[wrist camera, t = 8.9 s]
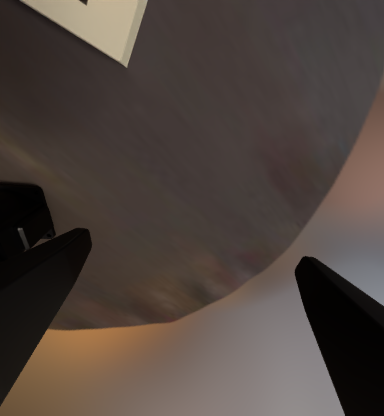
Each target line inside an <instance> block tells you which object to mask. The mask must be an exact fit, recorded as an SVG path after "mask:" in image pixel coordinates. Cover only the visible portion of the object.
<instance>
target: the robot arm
mask: <svg viewBox="0 0 384 416" xmlns="http://www.w3.org/2000/svg"><path fill="white" fill-rule="evenodd" d="M35 190H36V191H37V192H38V193H37V192H36V191H35ZM53 226H54V225H53V222H52V218H51V215H50V211H49V208H48V206H47V203H46V200H45V196H44V193H43V190H42V189H41V188H40V187H37V186H23V185H9V184H0V406H1V404H2V403H3V401H4V399H5V398H6V396H7V394H8V392H9V391H10V390H11V388H12V386H13V385H14V383H15V381H16V380H17V378H18V376H19V375H20V373H21V372H22V370H23V368H24V366H25V365H26V363H27V362H28V360H29V358H30V357H31V355H32V353H33V352H34V350H35V348H36V347H37V345H38V344H39V342H40V340H41V339H42V337H43V335H44V334H45V332H46V330H47V329H48V327H49V325H50V324H51V322H52V320H53V319H54V317H55V316H56V314H57V312H58V311H59V309H60V307H61V306H62V304H63V302H64V301H65V299H66V297H67V296H68V294H69V293H70V291H71V289H72V287H73V286H74V284H75V282H76V280H77V278H78V276H79V274H80V272H81V270H82V268H83V265H84V263H85V261H86V259H87V257H88V255H89V253H90V251H91V248H92V242H91V237H90V232H89V230H88V229H85V228H75V229H73V230H71V231H69V232H66V233H64V234H62V235H60V236H58V237H55V238H53V237H54V236H55V235H56V233H55V230H54V227H53ZM52 238H53V239H52ZM40 239H51V240H49V241H47V242H45V243H42V244H40V245H38V246H36V247H34V248H32V247H33V246H34V245H35V244H36V243H37V242H38V241H39V240H40ZM25 250H27V251H25ZM24 251H25V252H24ZM295 277H296V281H297V284H298V288H299V292H300V295H301V299H302V302H303V306H304V309H305V312H306V314H307V318H308V320H309V322H310V325H311V328H312V331H313V333H314V336H315V338H316V341H317V344H318V346H319V349H320V351H321V354H322V357H323V359H324V362H325V364H326V367H327V370H328V372H329V375H330V377H331V380H332V383H333V385H334V388H335V390H336V393H337V396H338V398H339V401H340V403H341V406H342V409H343V411H344V414H345V416H384V306H383V305H381V304H380V303H378V302H377V301H376V300H374V299H373V298H371V297H370V296H368V295H367V294H366V293H364V292H363V291H361V290H360V289H359V288H357V287H356V286H354V285H353V284H351V283H350V282H349V281H347V280H346V279H344V278H343V277H341V276H340V275H339V274H337V273H336V272H334V271H333V270H332V269H330V268H329V267H327V266H326V265H324V264H323V263H322V262H320V261H319V260H318V259H316V258H314V257H308V256H305V257H303V258H302V259H301V260H300V262H299V264H298V265H297V267H296V269H295Z"/></svg>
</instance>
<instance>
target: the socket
mask: <svg viewBox="0 0 384 416" xmlns="http://www.w3.org/2000/svg"><path fill="white" fill-rule="evenodd" d="M19 1H21V2H22V3H24V4H26V5H27V6H29V7H30V8H32V9H34V10H35V11H37V12H38V13H40V14H42V15H43V16H45V17H46V18H48V19H50V20H51V21H53V22H54V23H56V24H58V25H59V26H61V27H62V28H64V29H66V30H67V31H69V32H70V33H72V34H74V35H75V36H77V37H78V38H80V39H82V40H83V41H85V42H86V43H88V44H90V45H91V46H93V47H94V48H96V49H98V50H99V51H101V52H102V53H104V54H106V55H107V56H109V57H110V58H112V59H114V60H115V61H117V62H118V63H120V64H122V65H123V66H125V67H126V68H127V65H128V62H129V59H130V56H131V52H132V49H133V46H134V43H135V40H136V36H137V33H138V30H139V27H140V23H141V20H142V17H143V14H144V11H145V7H146V4H147V1H148V0H19Z"/></svg>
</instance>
